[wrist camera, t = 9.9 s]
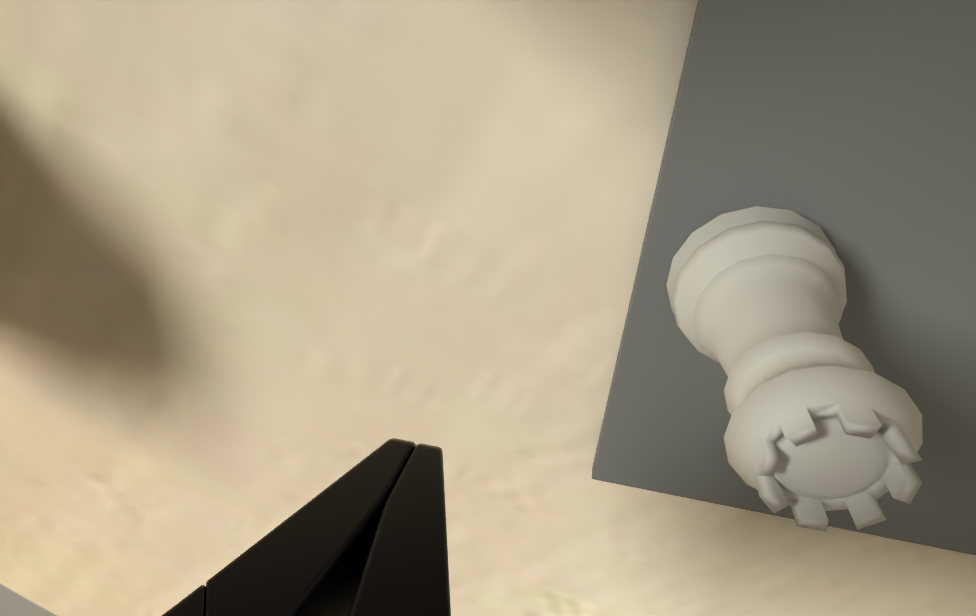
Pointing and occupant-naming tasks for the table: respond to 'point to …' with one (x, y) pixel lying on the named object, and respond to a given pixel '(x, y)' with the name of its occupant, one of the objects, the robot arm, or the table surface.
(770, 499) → the rook chess piece
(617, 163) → the table surface
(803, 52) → the rubber mat
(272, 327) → the table surface
